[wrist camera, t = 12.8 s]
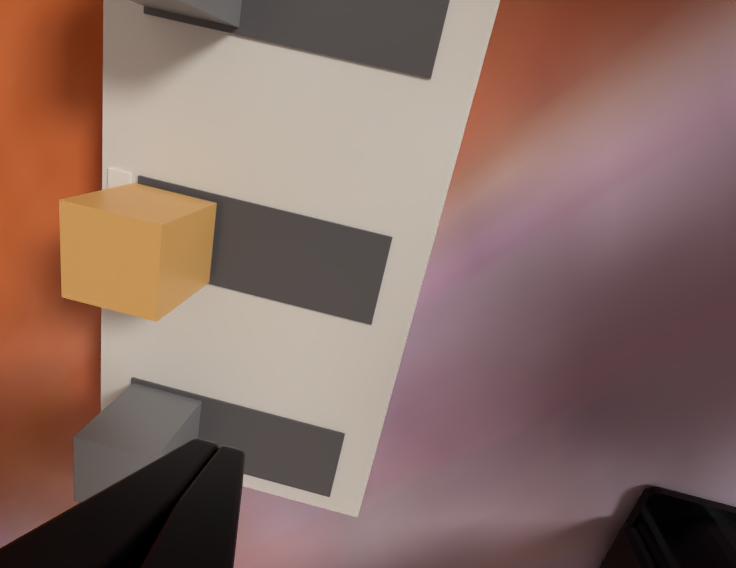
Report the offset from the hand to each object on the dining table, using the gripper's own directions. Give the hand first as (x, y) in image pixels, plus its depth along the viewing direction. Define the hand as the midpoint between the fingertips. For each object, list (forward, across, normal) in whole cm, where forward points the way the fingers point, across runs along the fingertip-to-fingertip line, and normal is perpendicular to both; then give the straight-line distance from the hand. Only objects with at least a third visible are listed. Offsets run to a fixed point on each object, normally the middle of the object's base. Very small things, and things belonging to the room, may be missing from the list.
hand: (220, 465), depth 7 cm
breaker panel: (+12, +3, 0) cm, 12 cm away
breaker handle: (+10, +6, 0) cm, 11 cm away
